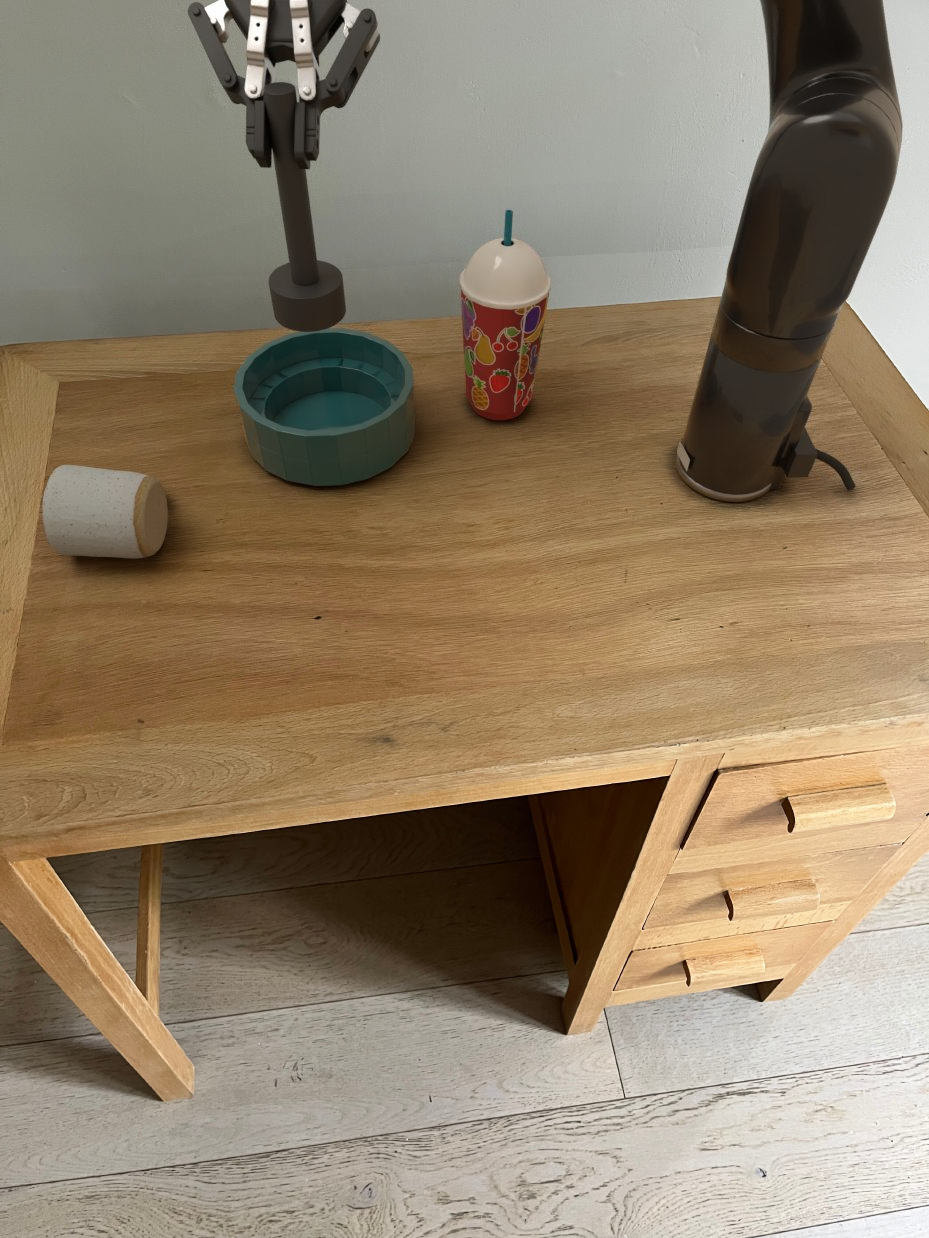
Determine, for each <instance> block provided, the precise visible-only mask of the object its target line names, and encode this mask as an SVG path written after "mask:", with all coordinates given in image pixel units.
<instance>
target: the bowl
mask: <svg viewBox="0 0 929 1238" xmlns="http://www.w3.org/2000/svg"><path fill="white" fill-rule="evenodd" d="M414 383H415V382H414V368H413V366H412V365H411V363H410V361H409V359H408V358H407V356H406V354H405V353H404V352H403V351H402V350H401V349H399V348H398V347H397V346H396V345H394V344H393V343H391V342H390V341H389V340H387V339H384V338H382V337H379V336H377V335H375V334H372V333H369V332H367V331H363V330H357V329H351V328H345V327H330V328H327V329H324V330H320V331H314V332H300V331H294V332H291V333H287V334H284V335H283V336H279V337H278V338H275V339H272V340H270V341H268V342H266V343H264V344H263V345H261V346H260V347H258V348H257V349H256V350H255V351H254V352H252V353H251V354H248V356H247V357H246V358H245V360H244V361H243V363H242V364H241V365H240V366H239V368H238V370H236V373H235V379H234V384H233V393H234V397H235V402H236V405H237V411H238V415H239V418H240V423H241V427H242V432H243V436H244V440H245V443H246V446H247V449H248V451H249V455H250V456H251V457H252V458H253V459H254V460H255V461H256V462H257V463H258V464H259V465H260V466H261V468H263V469H264V470H265V471H266V472H268V473H270V474H272V475H274V476H276V477H278V478H281V479H282V480H285V481H287V482H292V483H297V484H303V485H306V486H307V485H308V486H311V487H312V486H314V487H328V486H329V487H330V486H344V485H348V484H352V483H356V482H360V481H365V480H369V479H371V478H373V477H375V476H377V475H379V474H381V473H383V472H384V471H387V470H388V469H391V468H392V467H393V466H394V465H395V464H396V463H397V462H398V461H399V460H400V459H401V458H402V457H404V455H405V454H406V453H407V452H409V449H410V447H411V445H412V442H413V441H414V438H415V436H416V415H415V413H416V412H415V386H414Z"/></svg>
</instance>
